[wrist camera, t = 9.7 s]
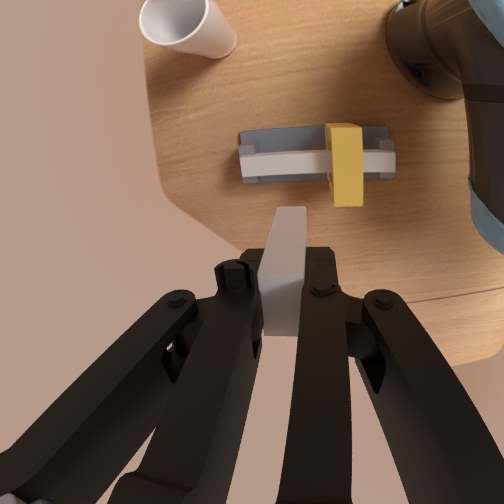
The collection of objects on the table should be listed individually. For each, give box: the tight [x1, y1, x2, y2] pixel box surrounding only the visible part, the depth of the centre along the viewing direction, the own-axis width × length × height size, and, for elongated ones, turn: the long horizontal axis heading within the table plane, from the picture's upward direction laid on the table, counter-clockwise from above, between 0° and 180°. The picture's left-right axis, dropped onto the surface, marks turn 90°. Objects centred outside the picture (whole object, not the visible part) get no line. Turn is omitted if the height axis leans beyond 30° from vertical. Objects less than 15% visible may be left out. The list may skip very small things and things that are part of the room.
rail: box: [238, 126, 396, 184], centre depth 34 cm, size 7×19×7 cm, turn 96°
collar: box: [325, 123, 363, 207], centre depth 31 cm, size 8×3×8 cm, turn 6°
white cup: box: [139, 0, 237, 59], centre depth 25 cm, size 7×7×15 cm
